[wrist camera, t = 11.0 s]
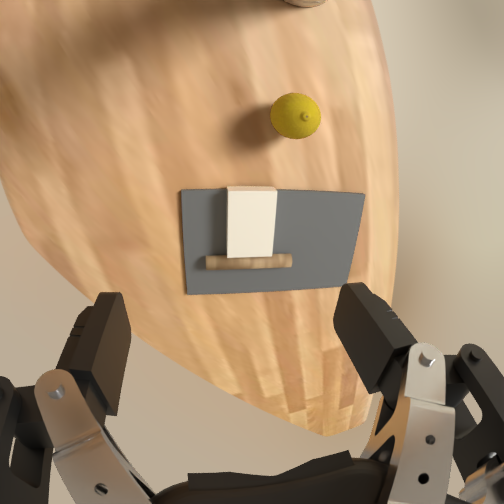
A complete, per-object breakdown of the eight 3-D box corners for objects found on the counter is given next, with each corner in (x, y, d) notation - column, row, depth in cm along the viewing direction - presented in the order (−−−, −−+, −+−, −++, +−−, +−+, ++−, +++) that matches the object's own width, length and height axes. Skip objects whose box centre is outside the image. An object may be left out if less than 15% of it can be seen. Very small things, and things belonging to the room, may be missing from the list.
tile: (225, 249, 39) (226, 186, 35) (268, 248, 40) (272, 186, 36) (227, 257, 37) (228, 191, 33) (272, 256, 38) (277, 191, 34)
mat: (181, 189, 35) (181, 190, 35) (363, 193, 39) (365, 194, 39) (187, 292, 42) (187, 294, 42) (344, 284, 47) (345, 286, 46)
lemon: (270, 140, 34) (287, 147, 27) (259, 100, 31) (274, 96, 24) (310, 131, 34) (336, 136, 27) (300, 91, 31) (325, 86, 24)
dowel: (205, 253, 39) (205, 260, 37) (289, 250, 41) (292, 257, 39) (205, 265, 40) (206, 272, 38) (287, 262, 42) (291, 269, 40)
